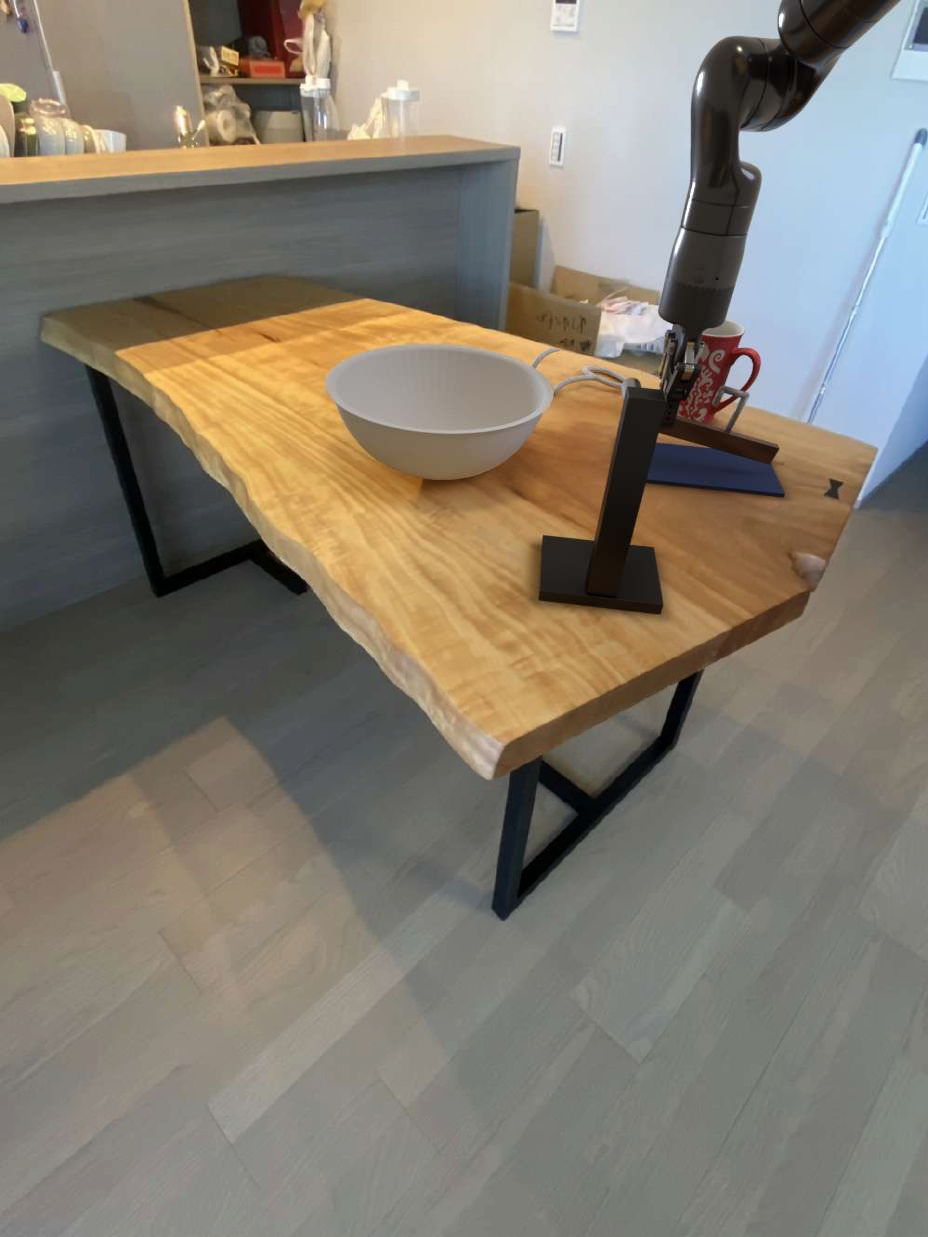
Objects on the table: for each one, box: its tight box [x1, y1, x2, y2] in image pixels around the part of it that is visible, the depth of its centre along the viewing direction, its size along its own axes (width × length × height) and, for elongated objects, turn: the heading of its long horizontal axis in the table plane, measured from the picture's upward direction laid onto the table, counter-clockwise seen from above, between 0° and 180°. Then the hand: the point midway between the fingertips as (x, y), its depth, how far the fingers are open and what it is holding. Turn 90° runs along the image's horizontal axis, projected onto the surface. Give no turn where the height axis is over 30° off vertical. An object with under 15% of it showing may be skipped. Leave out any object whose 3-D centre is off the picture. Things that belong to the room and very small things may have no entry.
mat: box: [646, 442, 786, 498], centre depth 91 cm, size 20×11×1 cm, turn 83°
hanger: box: [658, 385, 780, 465], centre depth 85 cm, size 17×1×8 cm, turn 84°
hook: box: [531, 347, 629, 394], centre depth 108 cm, size 7×9×20 cm
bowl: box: [324, 343, 555, 481], centre depth 86 cm, size 27×27×10 cm
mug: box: [677, 318, 762, 425], centre depth 98 cm, size 13×9×14 cm
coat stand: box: [538, 377, 666, 615], centre depth 65 cm, size 12×10×21 cm
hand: (663, 423), depth 87 cm, fingers closed on hanger, 1 cm apart
